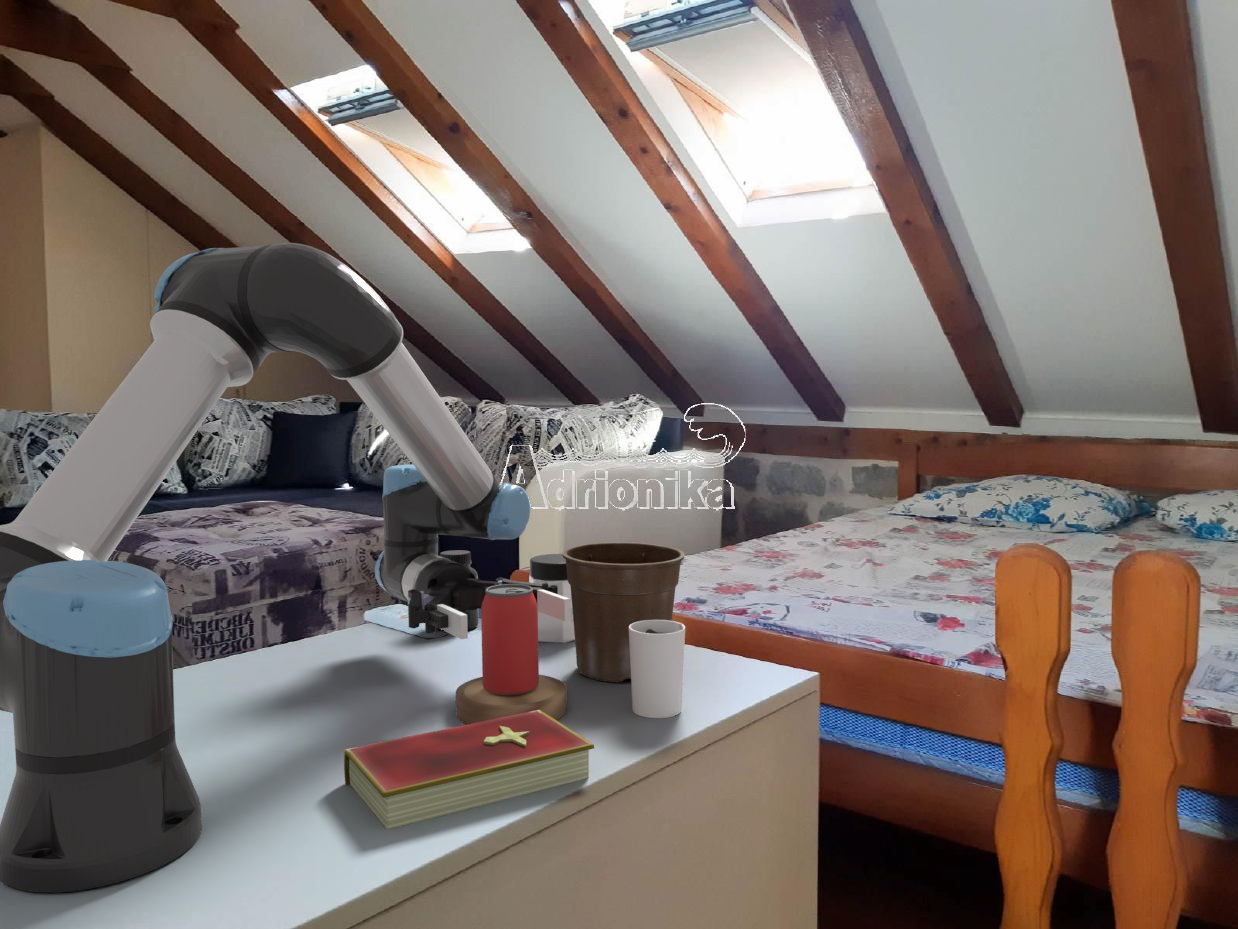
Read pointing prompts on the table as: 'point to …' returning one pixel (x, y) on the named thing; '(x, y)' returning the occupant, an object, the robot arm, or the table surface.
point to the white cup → (656, 667)
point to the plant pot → (617, 600)
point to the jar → (555, 573)
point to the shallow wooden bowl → (509, 701)
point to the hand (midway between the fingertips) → (517, 618)
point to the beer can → (509, 640)
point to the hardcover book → (465, 766)
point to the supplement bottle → (465, 559)
